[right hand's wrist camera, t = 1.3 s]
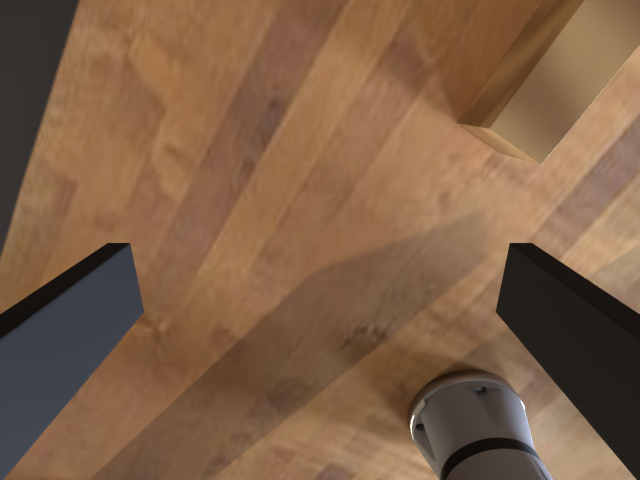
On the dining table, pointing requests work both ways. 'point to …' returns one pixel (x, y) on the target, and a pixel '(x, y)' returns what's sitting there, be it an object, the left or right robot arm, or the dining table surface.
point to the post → (553, 75)
